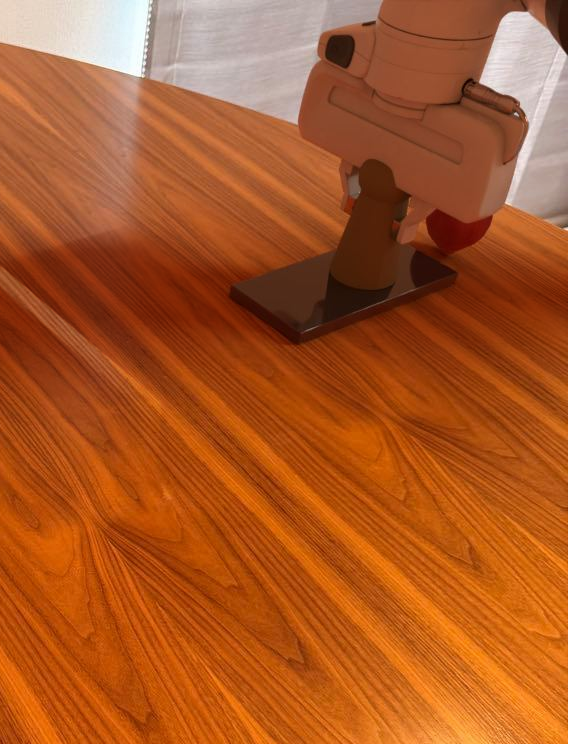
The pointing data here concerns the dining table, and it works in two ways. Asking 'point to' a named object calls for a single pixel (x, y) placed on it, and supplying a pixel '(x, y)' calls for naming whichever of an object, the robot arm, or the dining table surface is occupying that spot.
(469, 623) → the dining table surface
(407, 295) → the slate strip
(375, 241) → the pepper mill
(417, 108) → the robot arm
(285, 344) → the dining table surface
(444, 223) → the onion
